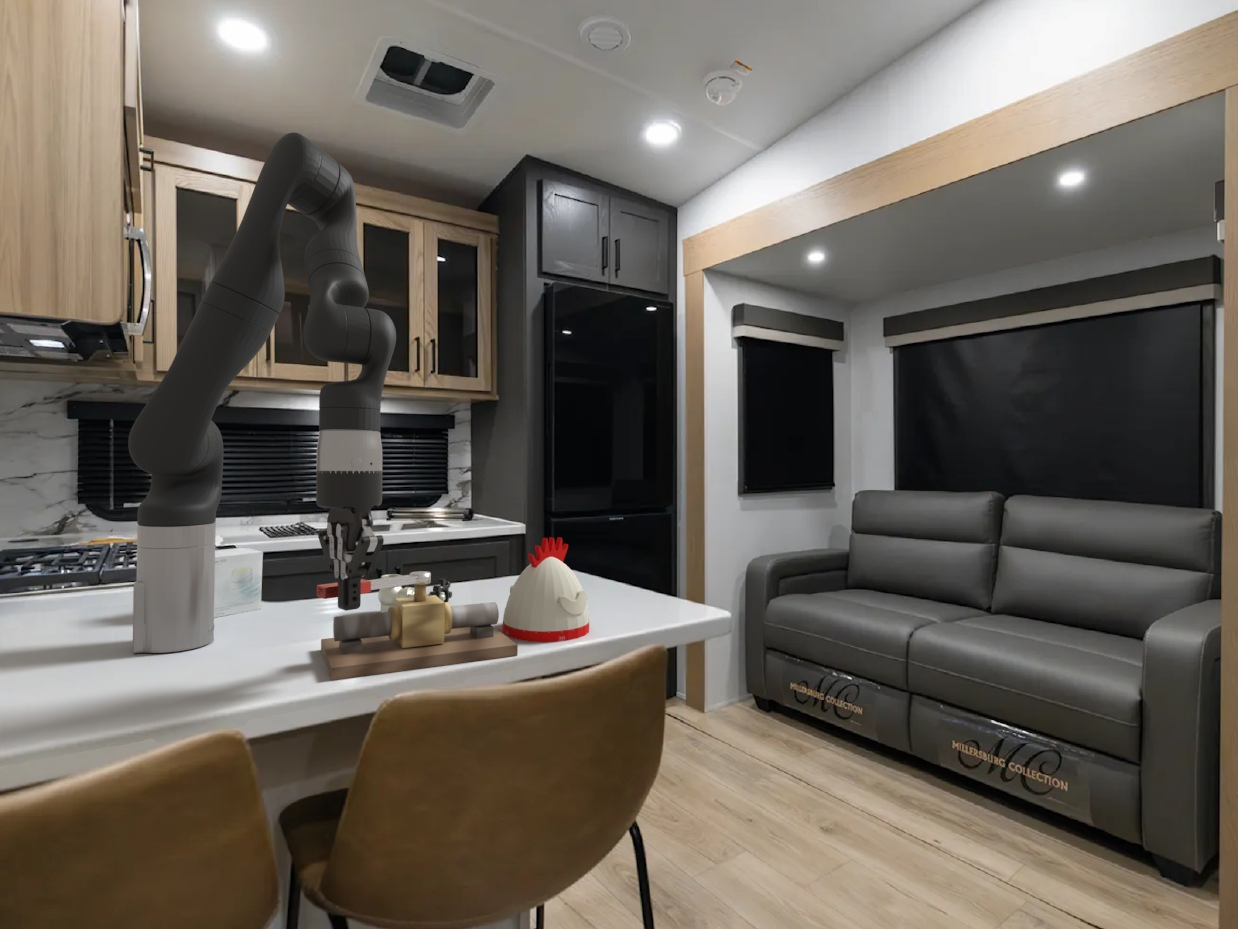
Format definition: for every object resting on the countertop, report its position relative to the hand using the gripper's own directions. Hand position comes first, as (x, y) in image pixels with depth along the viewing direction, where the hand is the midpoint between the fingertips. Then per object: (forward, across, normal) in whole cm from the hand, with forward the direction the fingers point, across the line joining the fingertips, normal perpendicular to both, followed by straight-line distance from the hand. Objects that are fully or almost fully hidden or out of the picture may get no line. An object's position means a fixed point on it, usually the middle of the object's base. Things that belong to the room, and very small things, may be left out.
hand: (349, 608), depth 81 cm
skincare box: (+8, +47, 0) cm, 47 cm away
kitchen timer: (+9, +1, -33) cm, 34 cm away
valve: (+8, +24, -23) cm, 34 cm away
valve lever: (-1, +3, -6) cm, 7 cm away
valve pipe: (+9, +4, -12) cm, 15 cm away
